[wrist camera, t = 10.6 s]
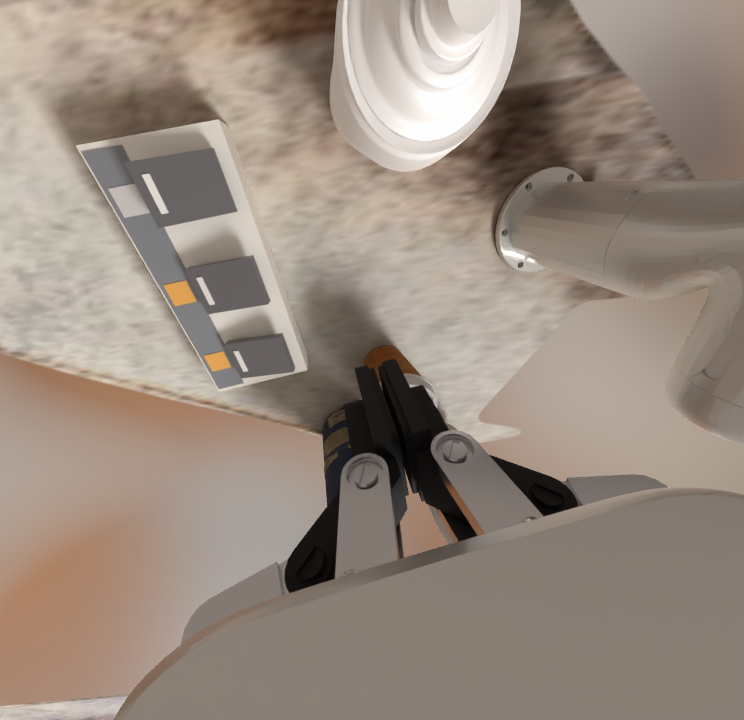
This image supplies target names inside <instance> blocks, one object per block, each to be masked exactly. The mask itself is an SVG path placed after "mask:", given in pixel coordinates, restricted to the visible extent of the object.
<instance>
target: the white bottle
mask: <svg viewBox="0 0 744 720" xmlns="http://www.w3.org/2000/svg"><path fill="white" fill-rule="evenodd" d="M520 13H521V0H338V5H337V11H336V25H335V42H334V57H333V67H332V72H331V79H330V107H331V114H332V117H333V120H334V123H335V125H336V127H337V130H338V131H339V133H340V134H341V136H342V137H343V138H344V139H345V140H346V141H347V143H348V144H350V145H351V146H352V147H354V148H355V149H356V150H358V151H359V152H361V153H362V154H364V155H365V156H367V157H368V158H370V159H371V160H373V161H374V162H376V163H377V164H379V165H380V166H383V167H385V168H388V169H390V170H396V171H414V170H419V169H422V168H425V167H427V166H430V165H432V164H433V163H435V162H436V161H438V160H440V159H441V158H442V157H444V156H445V155H446V154H448V153H449V152H450V151H452V150H453V149H454V148H456V147H457V146H458V145H459V144H461V143H462V142H463V141H464V140H465V139H466V138H467V137H468V136H469V135H470V134H471V133H473V132H474V131H475V130H476V128H477V127H478V126H479V125H480V124H481V123H482V122H483V120H484V119H485V118H486V116H487V115H488V113H489V112H490V110H491V109H492V107H493V106H494V104H495V102H496V100H497V98H498V96H499V95H500V93H501V91H502V89H503V86H504V84H505V81H506V79H507V76H508V74H509V71H510V68H511V64H512V61H513V57H514V54H515V49H516V44H517V39H518V33H519V24H520Z"/></svg>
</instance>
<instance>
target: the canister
mask: <svg viewBox="0 0 744 720" xmlns="http://www.w3.org/2000/svg"><path fill="white" fill-rule="evenodd" d="M323 449H324V463H325V465H324V473H325V480H326V495H327V506H328V505H329V504H330V502H331V501H332V500H333V498H334V497H335V496H336V494H337V493H338V492H339V491H340V484H341V474H342V469H343V468H344V466H345V464H346V463H347V462H348V461H349V460H350V459H351V458H352V454H351V448H350V441H349V435H348V429H347V423H346V416H345V410H344V409H343V410H339V411H337V412H335V413H334V414H332V415H331V416H330V417H329V418H328V419H327V421H326V422H325V424H324V427H323Z"/></svg>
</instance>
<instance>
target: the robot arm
mask: <svg viewBox="0 0 744 720" xmlns="http://www.w3.org/2000/svg"><path fill="white" fill-rule="evenodd" d="M495 239H496V247H497V250H498V253H499V255H500V257H501V259H502V260H503V261H504V262H505V263H506V264H507V265H508V266H510V267H511V268H513V269H515V270H518V271H522V272H535V271H539V270H542V269H545V268H549V269H552V270H555V271H558V272H561V273H563V274H566V275H569V276H572V277H575V278H578V279H581V280H583V281H586V282H589V283H592V284H595V285H598V286H601V287H603V288H606V289H609V290H612V291H615V292H618V293H621V294H624V295H627V296H630V297H634V298H638V299H646V300H660V299H667V298H673V297H678V296H681V295H685V294H689V293H692V292H695V291H699V290H701V289H705V288H707V287H709V295H708V298H707V300H706V302H705V304H704V307H703V309H702V310H701V314H700V316H699V318H698V320H697V322H696V324H695V326H694V327H693V329H692V331H691V333H690V335H689V336H688V338H687V340H686V342H685V344H684V346H683V348H682V350H681V351H680V353H679V355H678V357H677V359H676V361H675V363H674V365H673V367H672V369H671V371H670V374H669V376H668V379H667V384H666V393H667V397H668V399H669V402H670V404H671V405H672V406H673V407H674V409H675V410H676V411H677V412H678V413H679V414H680V415H682V416H683V417H684V418H686V419H687V420H688V421H690V422H691V423H693V424H695V425H696V426H698V427H700V428H702V429H704V430H706V431H708V432H710V433H712V434H714V435H716V436H718V437H721V438H724V439H726V440H729V441H731V442H734V443H736V444H739V445H742V446H744V179H728V180H682V181H590V182H584V181H583V179H582V178H581V177H580V176H579V175H578V174H577V173H576V172H575V171H573V170H571V169H569V168H565V167H550V168H545V169H541V170H539V171H537V172H534V173H532V174H531V175H529V176H528V177H526V178H525V179H524V180H523V181H522V182H520V183H519V184H518V185H517V186H516V187H515V189H514V190H513V191H512V192H511V194H510V195H509V196H508V198H507V200H506V201H505V203H504V205H503V207H502V209H501V212H500V214H499V217H498V221H497V225H496V233H495ZM355 371H356V375H357V380H358V384H359V388H360V392H361V396H362V400H360V401H356V402H352V403H348V404H344V410H345V416H346V423H347V429H348V435H349V441H350V448H351V454H352V458H351V459H350V460H349V461H348V462H347V463H346V464H345V466H344V468H343V469H342V474H341V484H340V491H339V492H338V493H337V494H336V496H335V497H334V498H333V500H332V501H331V502H330V504H329V505H328V506H327V508H326V509H325V510H324V512H323V513H322V514H321V516H320V517H319V518H318V519H317V521H316V522H315V523H314V525H313V526H312V527H311V528H310V530H309V531H308V532H307V534H306V535H305V536H304V538H303V539H302V540H301V542H300V543H299V544H298V545H297V547H296V548H295V549H294V551H293V552H292V554H291V556H290V557H289V559H288V560H286V561H284V562H283V563H281V564H278V563H277V562H276V563H274V564H272V565H270V566H268V567H266V568H265V569H263V570H261V571H260V572H257V573H256V574H254V575H252V576H250V577H248V578H246V579H245V580H243V581H241V582H239V583H237V584H236V585H234V586H232V587H230V588H229V589H227V590H225V591H223V592H221V593H219V594H217V595H216V596H214V597H212V598H210V599H209V600H207V601H206V602H205V603H203V604H202V605H201V606H199V608H198V609H197V610H196V611H195V613H194V614H193V615H192V616H191V618H190V620H189V622H188V624H187V626H186V627H185V630H184V634H183V638H182V643H181V645H180V646H179V647H177V648H176V649H175V650H174V651H173V652H171V653H170V654H169V655H168V656H166V657H165V658H164V659H163V660H162V661H161V662H160V663H159V664H158V665H156V666H155V667H154V668H153V669H152V670H151V671H150V672H149V673H148V674H147V675H146V676H145V677H144V678H143V679H142V680H141V682H140V683H139V684H138V685H137V686H136V687H135V688H134V690H133V691H132V692H131V693H130V695H129V696H128V697H127V699H126V700H125V702H124V703H123V705H122V707H121V708H120V710H119V711H118V713H117V714H116V716H115V718H114V720H744V495H743V494H738V493H733V492H728V491H722V490H714V489H704V488H689V487H671V488H668V487H667V486H666V485H664V484H663V483H661V482H659V481H657V480H656V479H653V478H650V477H647V476H644V475H613V476H595V477H576V478H567V480H566V481H563V482H560V481H559V480H557V479H555V478H552V477H550V476H547V475H545V474H542V473H539V472H536V471H533V470H530V469H528V468H525V467H522V466H519V465H516V464H514V463H511V462H508V461H505V460H502V459H499V458H497V457H494V456H491V455H488V453H487V452H486V451H485V450H484V449H483V448H482V447H481V446H480V444H479V443H478V442H477V441H476V440H475V439H474V438H473V437H472V436H470V435H469V434H467V433H465V432H462V431H457V430H449V429H448V427H447V425H446V424H445V422H444V420H443V418H442V417H441V415H440V413H439V411H438V410H437V408H436V406H435V405H434V403H433V401H432V399H431V398H430V396H429V394H428V392H427V391H426V389H425V387H424V386H423V385H419V386H415V387H411V388H410V386H409V384H408V382H407V380H406V378H405V376H404V374H403V372H402V370H401V368H400V366H399V364H398V362H397V360H396V359H395V358H394V359H390V360H386V361H382V365H381V366H378V371H379V376H380V381H381V386H382V388H381V386H380V383H379V380H378V377H377V374H376V372H375V369H374V367H373V368H369V367H368V365H366V366H362V367H358V368H355ZM404 468H405V470H404ZM405 471H406V474H407V477H408V480H409V483H410V486H411V489H412V492H413V493H418V492H419V495H420V498H421V501H425V502H426V504H428V505H430V506H432V507H434V508H436V510H437V513H438V515H439V517H440V519H441V520H442V522H443V524H444V526H445V527H446V529H447V531H448V533H449V535H450V536H451V538H452V540H453V542H454V543H453V544H449V545H446V546H443V547H439V548H436V549H432V550H429V551H426V552H422V553H419V554H416V555H412V556H409V557H406V558H405V557H404V550H403V541H402V533H401V525H400V521H401V519H402V517H403V516H404V514H405V512H406V510H407V504H406V498H405V496H407V495H408V494H409V493H408V487H407V481H406V476H405Z"/></svg>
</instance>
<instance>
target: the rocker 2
mask: <svg viewBox="0 0 744 720" xmlns="http://www.w3.org/2000/svg"><path fill="white" fill-rule="evenodd" d="M224 346H225V348H226V350H227V352H228V354H229V356H230V358H231V360H232V362H233V364H234V366H235V368H236V370H237V372H238V374H239V375H240V377H241V378H249V377H257V376H266V375H274V374H282V373H290V372H294V370H295V365H294V362H293V360H292V357H291V354H290V352H289V349H288V346H287V344H286V341H285V338H284V336H283V333H279V334H272V335H265V336H258V337H251V338H244V339H236V340H229V341H227V342H226V343H225V344H224Z"/></svg>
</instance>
